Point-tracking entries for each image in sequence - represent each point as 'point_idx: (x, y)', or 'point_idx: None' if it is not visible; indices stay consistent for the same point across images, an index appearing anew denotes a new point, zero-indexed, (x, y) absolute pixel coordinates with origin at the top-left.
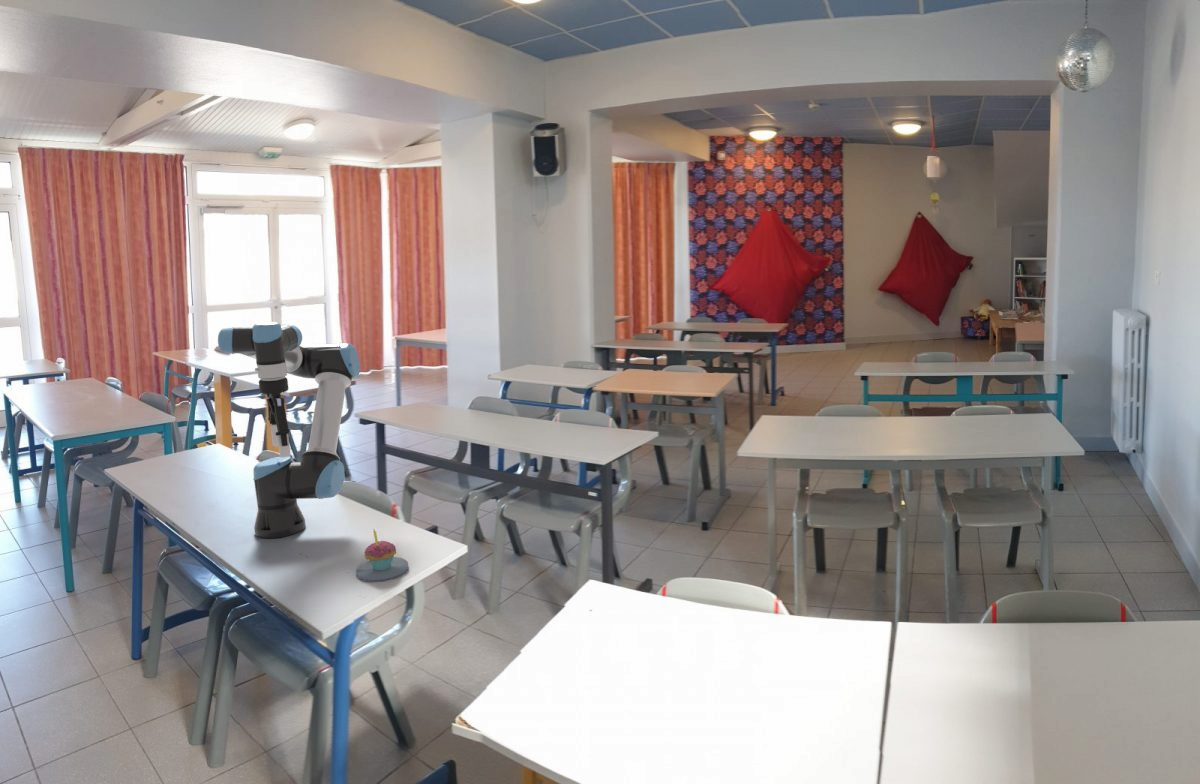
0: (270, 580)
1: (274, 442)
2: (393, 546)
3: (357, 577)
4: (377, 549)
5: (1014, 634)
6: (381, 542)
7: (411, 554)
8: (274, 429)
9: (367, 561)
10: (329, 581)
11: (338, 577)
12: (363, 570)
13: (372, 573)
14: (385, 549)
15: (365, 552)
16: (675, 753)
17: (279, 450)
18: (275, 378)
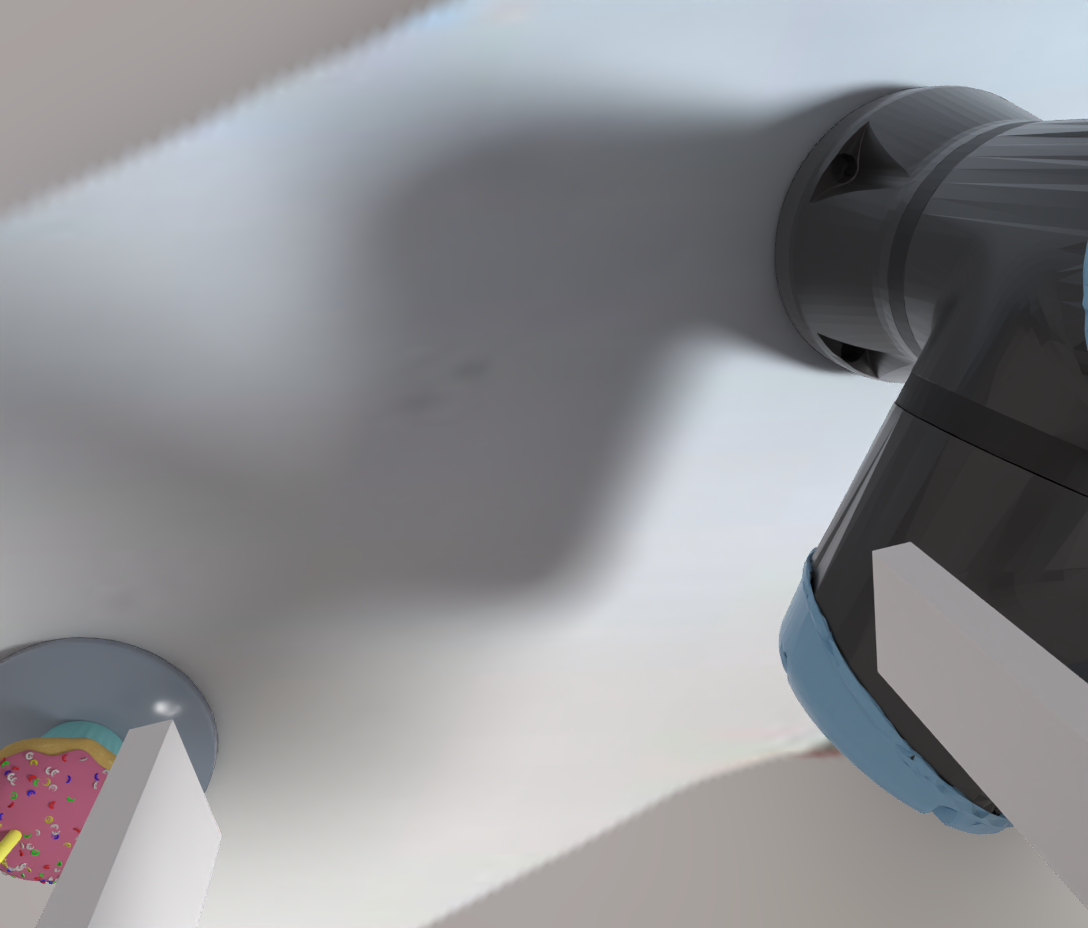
0: (124, 225)
1: (913, 610)
2: (46, 881)
3: (36, 645)
4: None
5: None
6: (48, 853)
7: (262, 842)
8: (1068, 784)
9: (178, 694)
10: (25, 524)
11: (68, 562)
12: (63, 681)
13: (11, 719)
14: None
15: (17, 760)
16: None
17: (121, 804)
18: None
